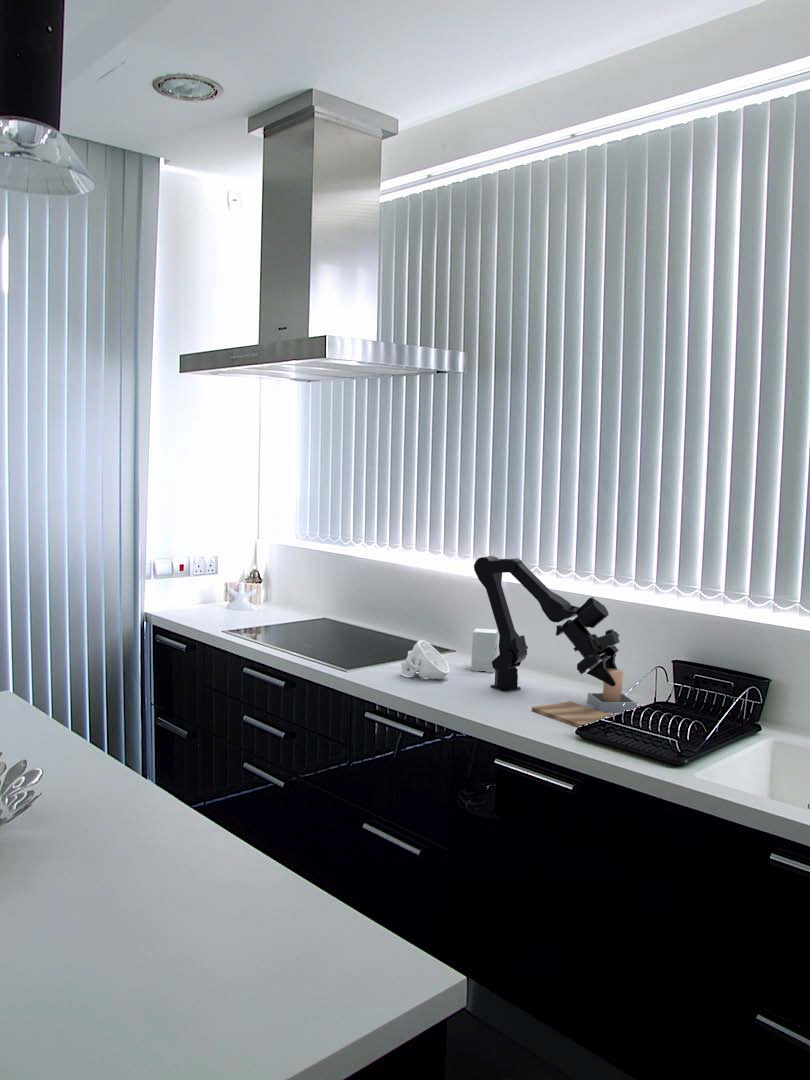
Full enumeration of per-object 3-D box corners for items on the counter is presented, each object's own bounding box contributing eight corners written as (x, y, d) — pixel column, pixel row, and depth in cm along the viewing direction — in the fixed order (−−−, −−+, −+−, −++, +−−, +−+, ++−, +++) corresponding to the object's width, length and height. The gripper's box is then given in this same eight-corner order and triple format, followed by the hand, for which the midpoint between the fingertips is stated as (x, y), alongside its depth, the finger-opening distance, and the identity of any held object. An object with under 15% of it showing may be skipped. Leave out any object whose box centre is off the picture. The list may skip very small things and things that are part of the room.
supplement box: (494, 673, 288) (495, 633, 287) (470, 671, 289) (472, 631, 288) (496, 668, 295) (498, 629, 294) (473, 666, 297) (475, 627, 296)
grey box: (599, 711, 247) (600, 702, 246) (587, 701, 257) (587, 693, 257) (636, 711, 248) (636, 702, 248) (622, 701, 258) (622, 693, 258)
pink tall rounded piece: (598, 705, 253) (600, 669, 252) (610, 703, 256) (612, 667, 255) (611, 709, 249) (614, 673, 248) (624, 707, 252) (626, 671, 251)
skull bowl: (403, 665, 287) (423, 635, 284) (437, 694, 283) (458, 664, 280) (388, 671, 278) (410, 640, 274) (423, 702, 273) (445, 670, 270)
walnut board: (531, 710, 245) (531, 707, 245) (569, 704, 253) (569, 701, 253) (580, 728, 230) (581, 724, 230) (619, 721, 238) (619, 717, 238)
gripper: (590, 625, 245) (628, 672, 240) (613, 616, 260) (649, 660, 256) (561, 650, 249) (598, 697, 244) (585, 640, 265) (620, 684, 260)
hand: (617, 683), depth 251 cm, fingers closed on pink tall rounded piece, 5 cm apart
